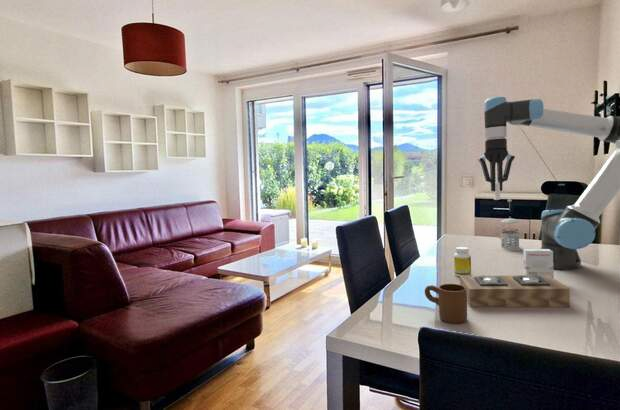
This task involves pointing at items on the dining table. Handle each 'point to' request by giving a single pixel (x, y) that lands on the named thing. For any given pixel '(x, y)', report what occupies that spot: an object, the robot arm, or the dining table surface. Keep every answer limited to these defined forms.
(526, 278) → the peg
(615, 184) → the robot arm
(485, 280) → the peg
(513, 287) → the block
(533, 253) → the ink box
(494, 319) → the dining table surface
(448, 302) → the mug
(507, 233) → the french press
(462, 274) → the pill bottle
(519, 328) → the dining table surface
